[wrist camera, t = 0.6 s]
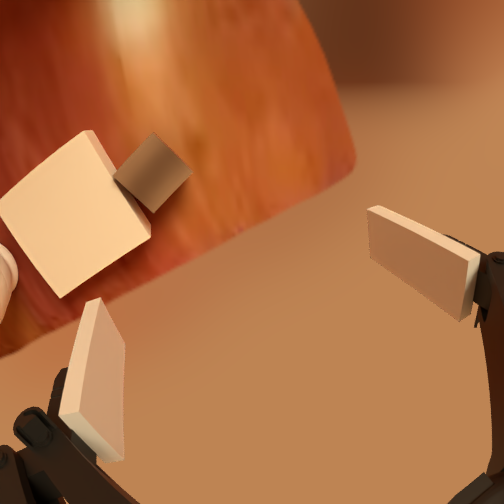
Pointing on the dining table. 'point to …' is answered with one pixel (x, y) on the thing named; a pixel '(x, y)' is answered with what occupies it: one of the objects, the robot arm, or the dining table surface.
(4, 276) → the jar
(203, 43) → the dining table surface
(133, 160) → the walnut cube
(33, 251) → the cream block
